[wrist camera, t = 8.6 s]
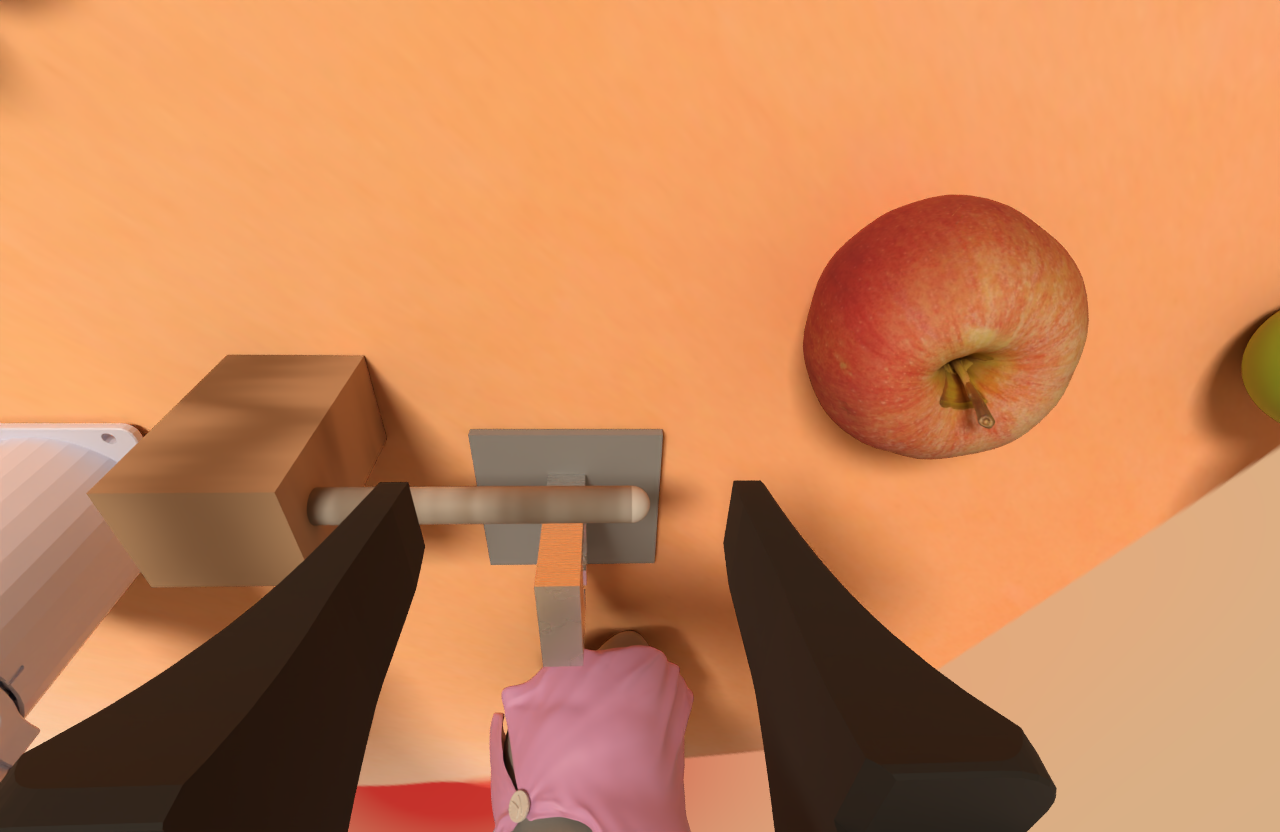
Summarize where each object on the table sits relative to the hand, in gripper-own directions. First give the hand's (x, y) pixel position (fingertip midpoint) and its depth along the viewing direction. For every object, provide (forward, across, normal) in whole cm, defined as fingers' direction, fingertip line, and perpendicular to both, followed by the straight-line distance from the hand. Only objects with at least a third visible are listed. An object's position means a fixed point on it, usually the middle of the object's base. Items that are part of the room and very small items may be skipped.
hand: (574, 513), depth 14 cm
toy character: (+11, 0, +22) cm, 24 cm away
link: (+10, +1, +10) cm, 14 cm away
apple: (+11, -11, -1) cm, 15 cm away
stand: (+10, +6, +4) cm, 13 cm away
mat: (+10, +1, +10) cm, 14 cm away
